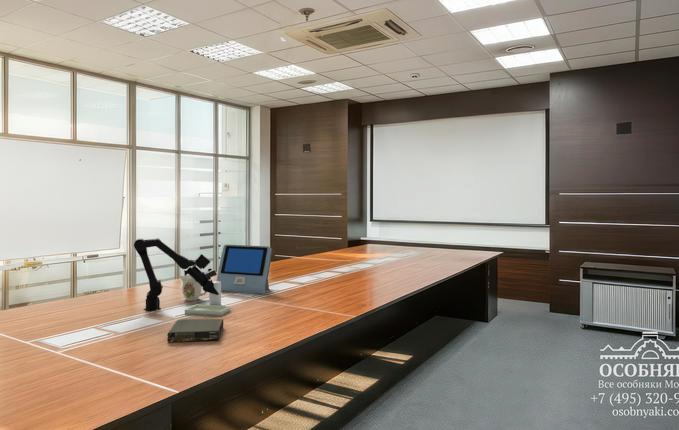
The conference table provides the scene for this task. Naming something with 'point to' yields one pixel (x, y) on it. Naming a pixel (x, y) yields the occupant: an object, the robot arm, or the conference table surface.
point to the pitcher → (191, 288)
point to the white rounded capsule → (215, 298)
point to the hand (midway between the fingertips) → (217, 293)
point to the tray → (207, 310)
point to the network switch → (195, 330)
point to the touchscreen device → (244, 268)
